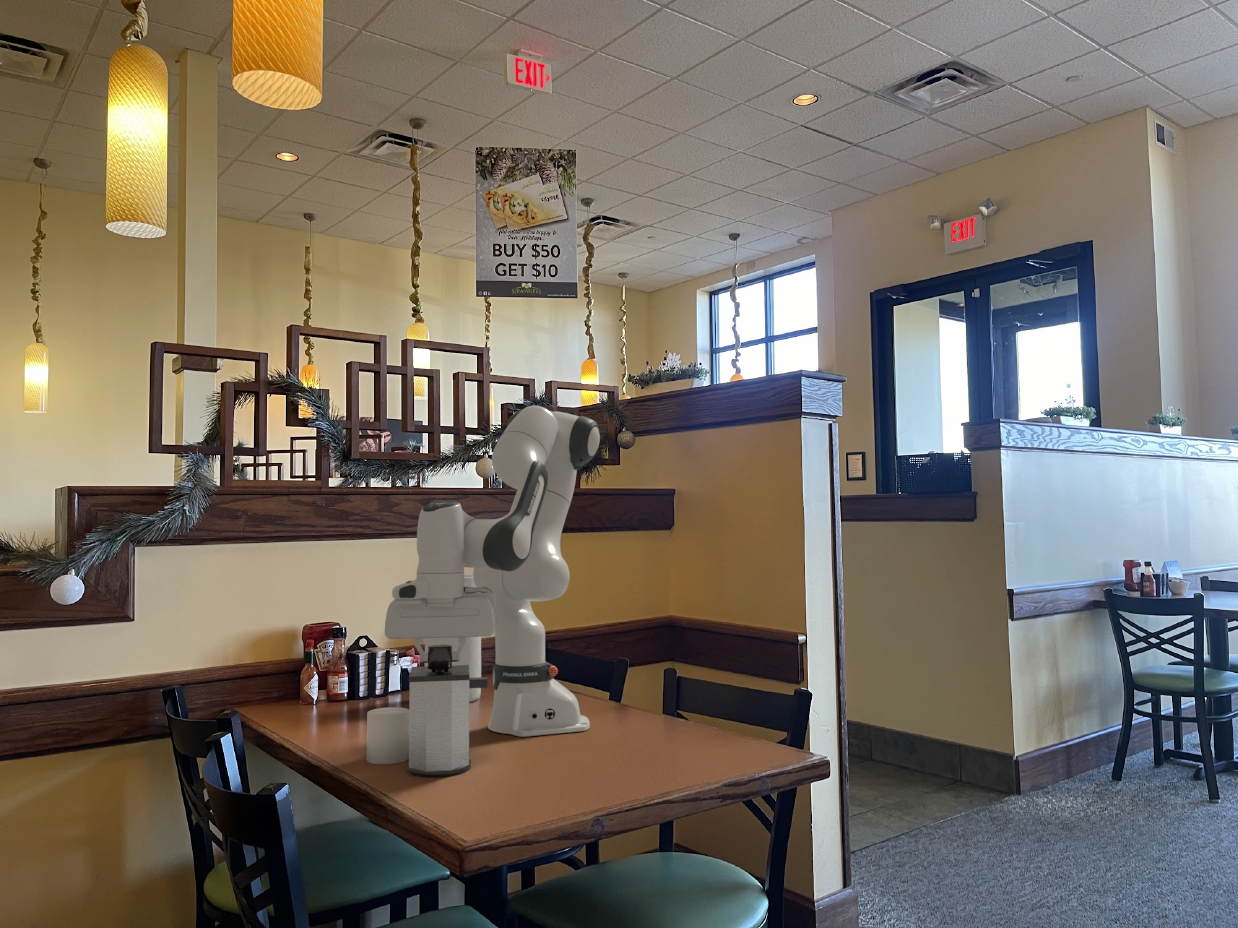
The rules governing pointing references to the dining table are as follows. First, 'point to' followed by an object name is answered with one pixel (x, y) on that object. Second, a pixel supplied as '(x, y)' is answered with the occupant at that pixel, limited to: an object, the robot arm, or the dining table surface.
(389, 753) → the diner mug
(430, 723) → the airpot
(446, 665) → the pump plunger
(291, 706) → the dining table surface
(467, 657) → the vase
